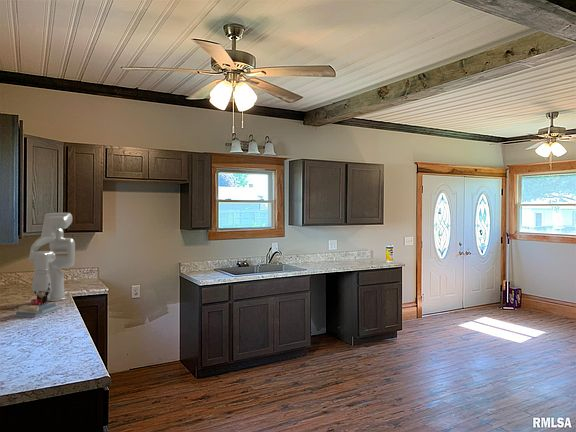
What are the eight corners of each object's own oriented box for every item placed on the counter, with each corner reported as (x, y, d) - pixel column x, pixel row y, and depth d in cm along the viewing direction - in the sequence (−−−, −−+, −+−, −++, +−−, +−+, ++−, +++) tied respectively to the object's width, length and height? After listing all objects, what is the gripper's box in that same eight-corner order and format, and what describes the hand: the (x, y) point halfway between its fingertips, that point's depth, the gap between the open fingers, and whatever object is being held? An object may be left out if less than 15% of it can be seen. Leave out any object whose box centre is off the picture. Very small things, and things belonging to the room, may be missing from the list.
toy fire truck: (29, 307, 262) (29, 291, 262) (46, 302, 275) (46, 287, 275) (34, 307, 261) (34, 291, 261) (51, 302, 274) (51, 287, 274)
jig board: (43, 307, 278) (42, 301, 278) (62, 307, 276) (61, 302, 276) (14, 316, 256) (14, 310, 255) (35, 317, 253) (35, 311, 253)
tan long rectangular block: (23, 312, 260) (23, 305, 260) (38, 313, 259) (38, 305, 259) (18, 314, 256) (18, 306, 256) (33, 314, 255) (33, 307, 255)
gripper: (25, 273, 267) (25, 303, 267) (49, 273, 264) (49, 303, 264) (34, 271, 274) (34, 300, 274) (57, 271, 271) (58, 301, 272)
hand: (42, 301), depth 269 cm, fingers closed on toy fire truck, 3 cm apart
